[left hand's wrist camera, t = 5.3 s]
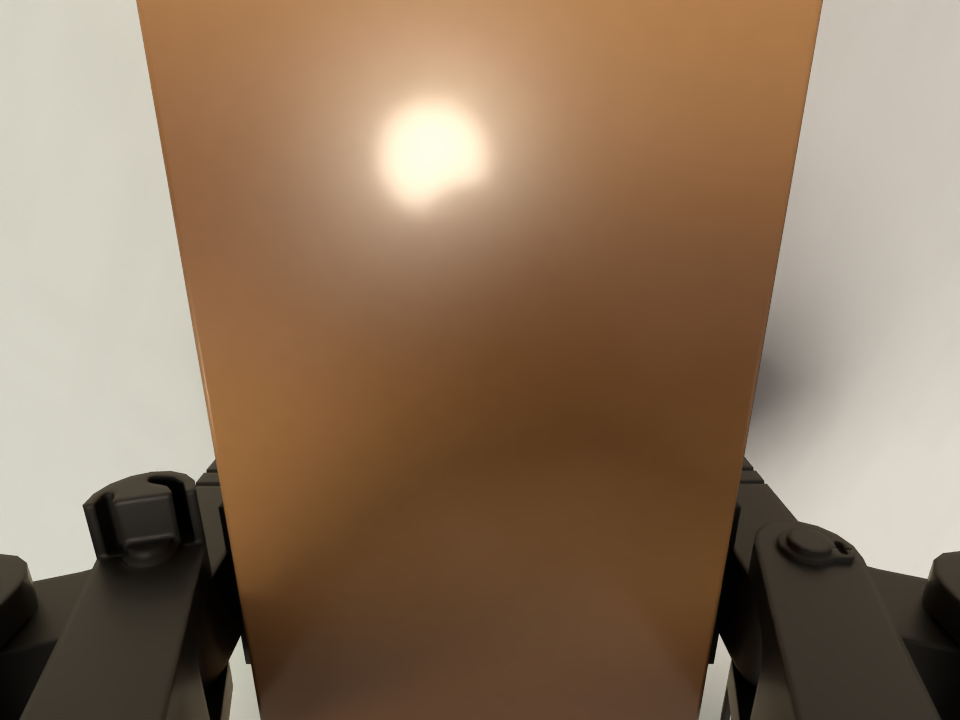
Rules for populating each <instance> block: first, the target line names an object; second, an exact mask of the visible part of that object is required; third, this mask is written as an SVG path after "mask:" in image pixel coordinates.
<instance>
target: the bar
mask: <svg viewBox="0 0 960 720" xmlns="http://www.w3.org/2000/svg"><path fill="white" fill-rule="evenodd" d="M136 2H137V7H138V13H139V19H140V25H141V30H142V36H143V42H144V48H145V54H146V59H147V65H148V71H149V77H150V83H151V88H152V94H153V100H154V106H155V111H156V117H157V123H158V129H159V135H160V140H161V146H162V152H163V158H164V163H165V169H166V175H167V181H168V187H169V192H170V198H171V204H172V210H173V216H174V221H175V227H176V233H177V239H178V244H179V250H180V256H181V262H182V268H183V273H184V279H185V285H186V291H187V296H188V302H189V308H190V314H191V320H192V325H193V331H194V337H195V343H196V349H197V354H198V360H199V366H200V372H201V377H202V383H203V389H204V395H205V401H206V406H207V412H208V418H209V424H210V429H211V435H212V441H213V447H214V453H215V458H216V464H217V470H218V476H219V482H220V487H221V493H222V499H223V505H224V510H225V516H226V522H227V528H228V534H229V539H230V545H231V551H232V557H233V562H234V568H235V574H236V580H237V586H238V591H239V597H240V603H241V609H242V615H243V620H244V626H245V632H246V638H247V643H248V649H249V655H250V661H251V667H252V672H253V678H254V684H255V690H256V695H257V701H258V707H259V713H260V719H261V720H699V714H700V708H701V702H702V697H703V691H704V685H705V679H706V673H707V668H708V662H709V656H710V650H711V645H712V639H713V633H714V627H715V621H716V616H717V610H718V604H719V598H720V592H721V587H722V581H723V575H724V569H725V564H726V558H727V552H728V546H729V540H730V535H731V529H732V523H733V517H734V511H735V506H736V500H737V494H738V488H739V483H740V477H741V471H742V465H743V459H744V454H745V448H746V442H747V436H748V430H749V425H750V419H751V413H752V407H753V402H754V396H755V390H756V384H757V378H758V373H759V367H760V361H761V355H762V349H763V344H764V338H765V332H766V326H767V321H768V315H769V309H770V303H771V297H772V292H773V286H774V280H775V274H776V268H777V263H778V257H779V251H780V245H781V240H782V234H783V228H784V222H785V216H786V211H787V205H788V199H789V193H790V187H791V182H792V176H793V170H794V164H795V158H796V153H797V147H798V141H799V135H800V130H801V124H802V118H803V112H804V106H805V101H806V95H807V89H808V83H809V77H810V72H811V66H812V60H813V54H814V49H815V43H816V37H817V31H818V25H819V20H820V14H821V8H822V2H823V0H136Z"/></svg>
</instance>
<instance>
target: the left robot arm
mask: <svg viewBox="0 0 960 720" xmlns="http://www.w3.org/2000/svg"><path fill="white" fill-rule="evenodd" d="M83 509H84V512H85V516H86V520H87V524H88V527H89V531H90V535H91V538H92V542H93V546H94V550H95V553H96V557H97V560H96V562H95V564H94V566H93V568H92V569H91V570H87V571H83V572H79V573H74V574H69V575H64V576H59V577H54V578H49V579H44V580H39V581H34V582H33V581H32V578H31V575H30V572H29V569H28V566H27V563H26V562H25V561H23V560H22V559H21V558H19V557H18V556H12V555H4V554H0V720H229V715H230V707H231V698H232V690H233V683H232V676H231V670H230V665H229V659H230V657H231V655H232V652H233V650H234V648H235V646H236V644H237V642H238V640H239V638H240V636H241V638H242V644H243V650H244V655H245V661H246V664H251V661H250V655H249V649H248V643H247V638H246V632H245V626H244V620H243V615H242V609H241V603H240V597H239V591H238V586H237V580H236V574H235V568H234V562H233V557H232V551H231V545H230V539H229V534H228V528H227V522H226V516H225V510H224V505H223V499H222V493H221V487H220V482H219V476H218V470H217V464H216V459H215V460H214V462H213V463H212V464H211V465H210V466H209V468H208V469H207V473H204V474H203V475H202V476H201V477H200V478H199V480H198V481H197V482H196V486H195V481H194V480H193V479H192V478H190V477H189V476H188V475H186V474H183V473H178V472H173V471H161V472H149V473H144V474H139V475H135V476H130V477H128V478H125V479H122V480H120V481H117V482H114V483H112V484H109V485H108V486H106V487H104V488H103V489H101V490H99V491H98V492H96V493H94V494H93V495H92V496H91V497H90V498H89V499H88V500H87V501H86V502H85V503H84V504H83ZM719 634H720V636H721V638H722V640H723V642H724V644H725V646H726V648H727V650H728V652H729V654H730V656H731V658H732V660H731V665H730V670H729V675H728V681H727V686H726V691H725V697H724V702H723V707H722V712H721V719H720V720H729V719H730V714H731V720H960V551H958V552H950V553H943V554H941V555H940V556H939V557H937V558H936V559H934V561H933V564H932V567H931V570H930V573H929V576H928V579H925V578H920V577H915V576H910V575H905V574H900V573H895V572H890V571H885V570H880V569H876V568H872V567H868V566H867V565H866V563H865V561H864V559H863V558H862V556H861V555H860V554H859V553H858V551H857V550H856V549H855V547H854V546H853V545H851V544H850V543H848V542H847V541H846V540H844V539H843V538H841V537H840V536H838V535H837V534H835V533H832V532H830V531H828V530H825V529H823V528H821V527H819V526H815V525H811V524H807V523H803V522H799V521H797V519H796V518H795V517H794V516H793V515H792V513H791V512H790V511H789V510H788V509H787V507H786V506H785V505H784V504H783V503H782V501H781V500H780V499H779V498H778V497H777V495H776V494H775V493H774V492H773V491H772V489H771V488H770V487H769V486H768V485H767V484H764V480H763V479H762V477H761V476H760V475H759V474H758V473H757V472H756V471H754V470H753V467H752V466H751V464H750V463H749V462H748V461H747V460H746V458H745V457H744V459H743V465H742V471H741V477H740V483H739V488H738V494H737V500H736V506H735V511H734V517H733V523H732V529H731V535H730V540H729V546H728V552H727V558H726V564H725V569H724V575H723V581H722V587H721V592H720V598H719V604H718V610H717V616H716V621H715V627H714V633H713V639H712V645H711V650H710V656H709V662H708V664H714V659H715V653H716V647H717V642H718V636H719Z"/></svg>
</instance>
